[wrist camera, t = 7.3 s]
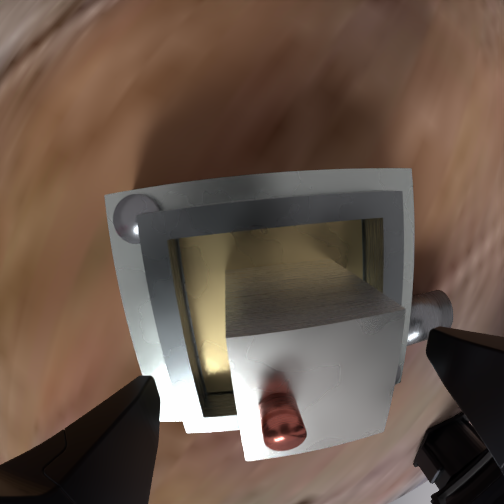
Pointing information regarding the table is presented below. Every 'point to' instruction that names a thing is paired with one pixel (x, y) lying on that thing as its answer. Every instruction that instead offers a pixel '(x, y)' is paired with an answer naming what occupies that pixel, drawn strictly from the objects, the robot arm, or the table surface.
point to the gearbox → (251, 255)
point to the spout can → (309, 356)
